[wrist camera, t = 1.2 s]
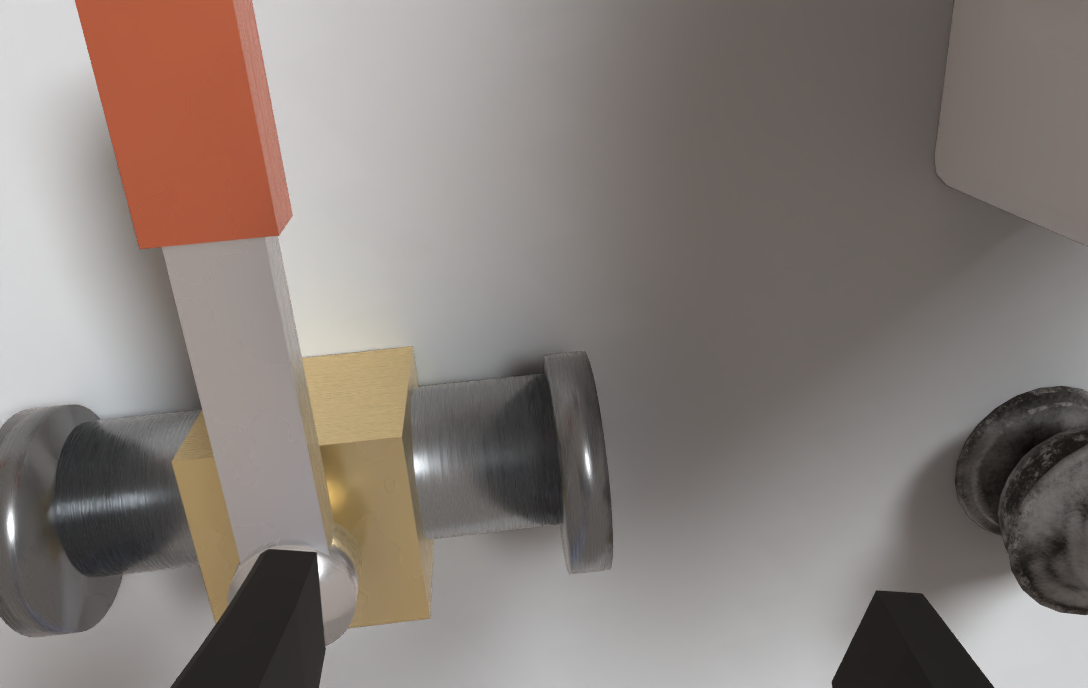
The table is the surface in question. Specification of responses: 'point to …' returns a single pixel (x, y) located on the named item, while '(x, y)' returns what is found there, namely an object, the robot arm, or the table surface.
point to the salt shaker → (1034, 491)
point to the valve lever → (224, 261)
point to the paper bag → (1019, 110)
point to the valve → (351, 475)
